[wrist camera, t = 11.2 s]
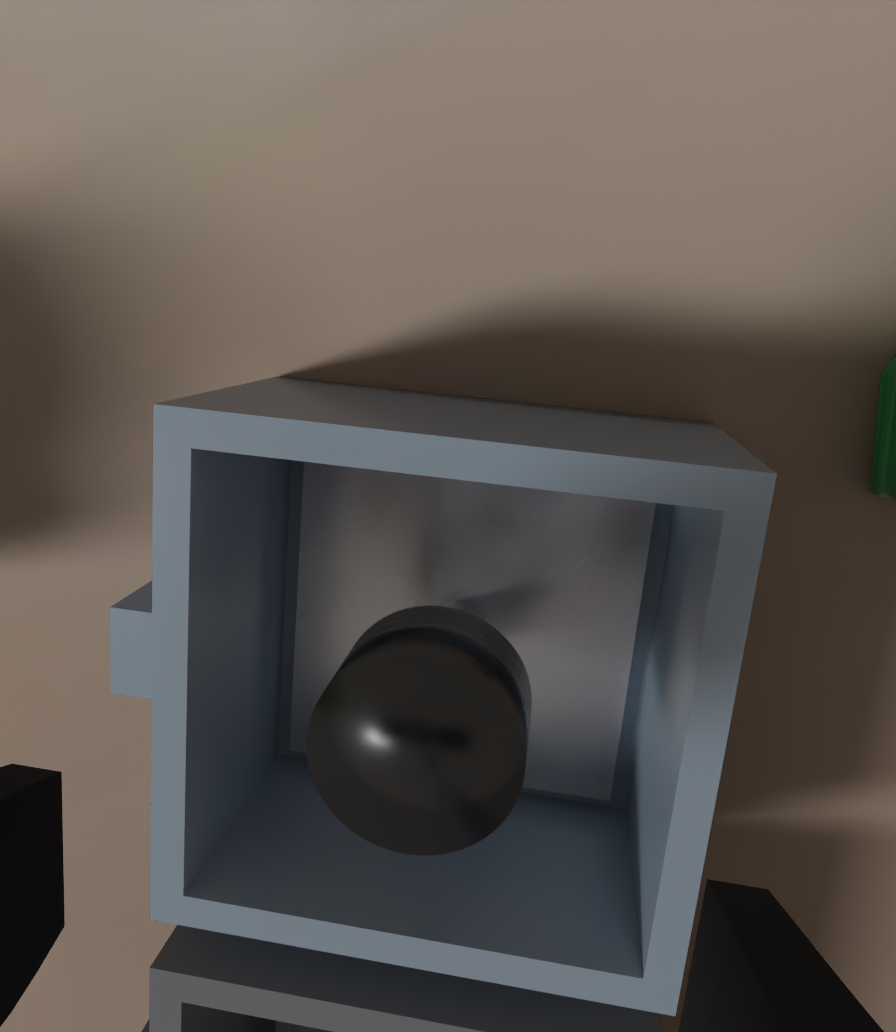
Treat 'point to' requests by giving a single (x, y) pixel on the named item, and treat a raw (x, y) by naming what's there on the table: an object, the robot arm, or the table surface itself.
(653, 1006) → the slate-blue press
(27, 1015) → the table surface
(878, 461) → the pattern blocks set
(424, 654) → the slate-blue press plunger
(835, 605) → the table surface
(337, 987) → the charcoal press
